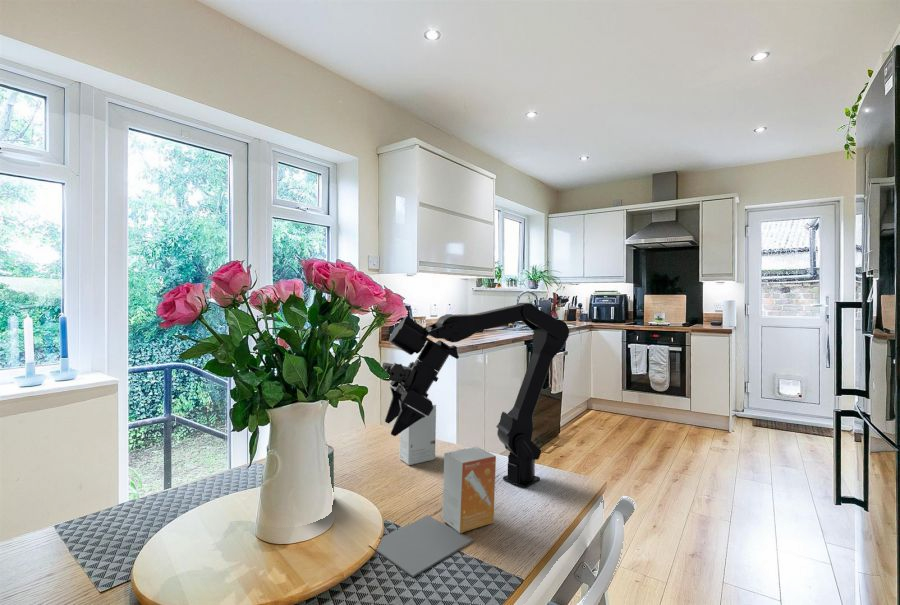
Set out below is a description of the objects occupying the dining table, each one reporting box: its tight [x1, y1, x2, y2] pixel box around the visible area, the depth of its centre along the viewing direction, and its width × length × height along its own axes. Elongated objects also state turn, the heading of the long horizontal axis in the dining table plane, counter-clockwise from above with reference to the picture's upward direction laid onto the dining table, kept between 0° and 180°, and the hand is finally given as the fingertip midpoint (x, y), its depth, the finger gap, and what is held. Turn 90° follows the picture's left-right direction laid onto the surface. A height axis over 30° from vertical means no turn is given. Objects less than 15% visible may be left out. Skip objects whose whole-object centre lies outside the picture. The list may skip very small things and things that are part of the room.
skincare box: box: [398, 402, 437, 466], centre depth 115 cm, size 8×6×15 cm
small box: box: [441, 446, 497, 534], centre depth 84 cm, size 8×6×13 cm
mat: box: [375, 515, 474, 578], centre depth 76 cm, size 14×12×1 cm
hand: (389, 428), depth 94 cm, fingers open, 9 cm apart
